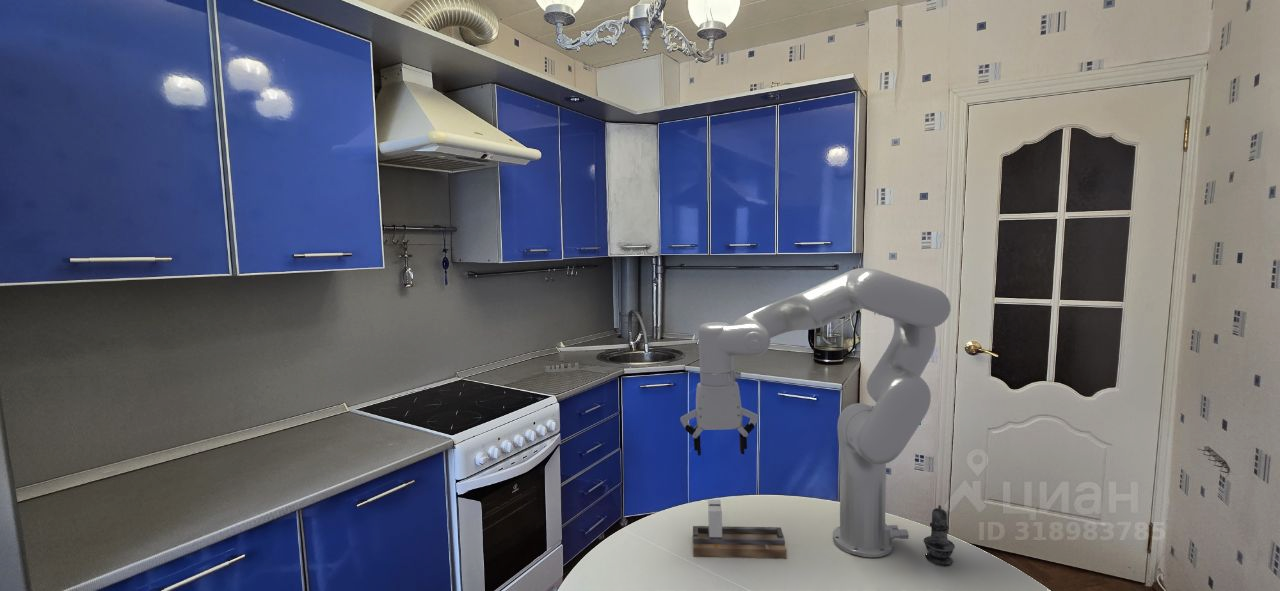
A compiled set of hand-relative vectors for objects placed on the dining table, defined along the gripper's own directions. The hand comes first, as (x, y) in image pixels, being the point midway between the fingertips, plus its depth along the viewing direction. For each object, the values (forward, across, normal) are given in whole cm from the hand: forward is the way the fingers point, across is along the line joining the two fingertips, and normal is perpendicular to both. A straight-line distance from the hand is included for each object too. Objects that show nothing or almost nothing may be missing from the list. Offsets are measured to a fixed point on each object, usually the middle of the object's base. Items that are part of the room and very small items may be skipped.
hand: (720, 452), depth 125 cm
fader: (+19, +2, +1) cm, 19 cm away
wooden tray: (+21, -3, +1) cm, 22 cm away
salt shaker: (+23, -45, +5) cm, 51 cm away
